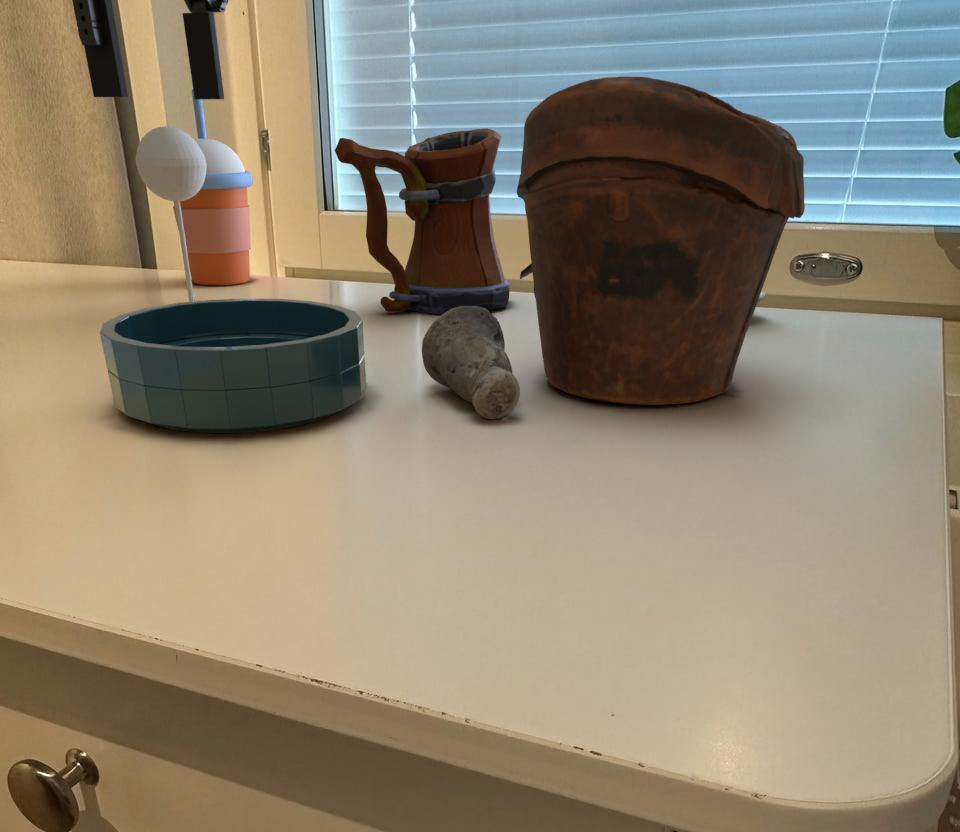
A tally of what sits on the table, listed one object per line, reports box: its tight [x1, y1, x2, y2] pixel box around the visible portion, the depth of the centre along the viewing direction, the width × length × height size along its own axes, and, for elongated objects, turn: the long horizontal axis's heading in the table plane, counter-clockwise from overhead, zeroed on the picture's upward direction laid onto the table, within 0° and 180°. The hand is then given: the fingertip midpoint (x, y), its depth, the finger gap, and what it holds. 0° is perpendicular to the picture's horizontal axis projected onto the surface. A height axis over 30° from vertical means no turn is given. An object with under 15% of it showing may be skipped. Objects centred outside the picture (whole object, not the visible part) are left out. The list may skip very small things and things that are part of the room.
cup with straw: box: [172, 88, 254, 286], centre depth 93 cm, size 9×9×18 cm
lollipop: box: [135, 125, 207, 302], centre depth 81 cm, size 6×6×15 cm
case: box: [516, 76, 806, 406], centre depth 58 cm, size 18×20×18 cm
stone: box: [421, 306, 521, 420], centre depth 57 cm, size 10×5×8 cm
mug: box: [334, 128, 511, 315], centre depth 81 cm, size 18×12×15 cm, turn 132°
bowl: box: [99, 297, 367, 434], centre depth 56 cm, size 16×16×5 cm
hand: (163, 98), depth 76 cm, fingers open, 13 cm apart
